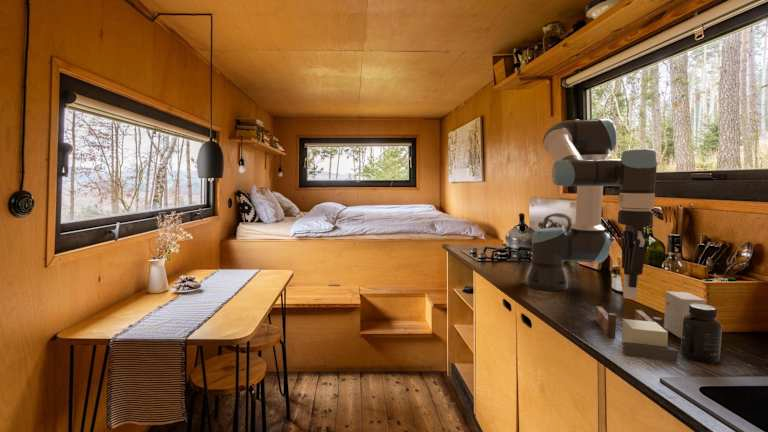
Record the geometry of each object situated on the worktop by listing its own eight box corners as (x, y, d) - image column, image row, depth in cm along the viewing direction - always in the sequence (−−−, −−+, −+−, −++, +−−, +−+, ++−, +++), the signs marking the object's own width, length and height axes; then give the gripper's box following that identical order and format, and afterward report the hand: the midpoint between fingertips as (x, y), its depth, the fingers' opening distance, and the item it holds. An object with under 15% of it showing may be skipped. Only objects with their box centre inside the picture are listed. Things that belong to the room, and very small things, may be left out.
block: (621, 342, 93) (622, 318, 93) (654, 345, 91) (655, 321, 91) (631, 353, 86) (632, 328, 86) (666, 357, 84) (668, 332, 84)
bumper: (622, 352, 87) (623, 341, 87) (673, 358, 84) (673, 347, 84) (625, 355, 85) (626, 345, 85) (677, 362, 82) (677, 351, 82)
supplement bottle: (672, 351, 87) (675, 301, 87) (699, 350, 88) (702, 301, 87) (699, 365, 81) (702, 311, 80) (728, 364, 81) (732, 310, 80)
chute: (595, 319, 109) (596, 299, 109) (640, 323, 105) (641, 303, 105) (608, 337, 96) (609, 314, 95) (660, 343, 92) (662, 319, 92)
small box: (704, 340, 94) (707, 300, 93) (680, 339, 95) (682, 299, 94) (686, 329, 102) (688, 292, 101) (663, 327, 103) (665, 290, 102)
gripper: (611, 207, 103) (607, 289, 105) (627, 211, 90) (621, 304, 93) (643, 208, 100) (637, 292, 103) (663, 212, 88) (656, 307, 90)
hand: (629, 297), depth 98 cm, fingers closed
